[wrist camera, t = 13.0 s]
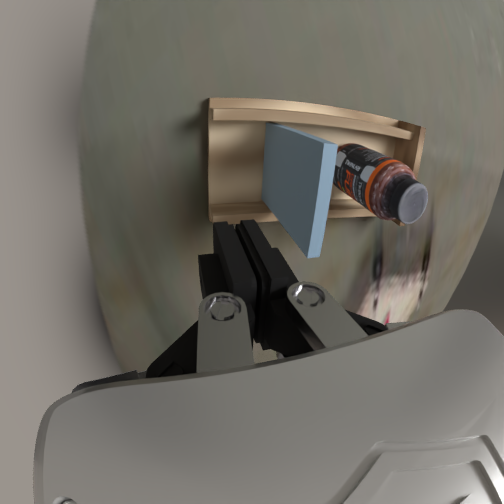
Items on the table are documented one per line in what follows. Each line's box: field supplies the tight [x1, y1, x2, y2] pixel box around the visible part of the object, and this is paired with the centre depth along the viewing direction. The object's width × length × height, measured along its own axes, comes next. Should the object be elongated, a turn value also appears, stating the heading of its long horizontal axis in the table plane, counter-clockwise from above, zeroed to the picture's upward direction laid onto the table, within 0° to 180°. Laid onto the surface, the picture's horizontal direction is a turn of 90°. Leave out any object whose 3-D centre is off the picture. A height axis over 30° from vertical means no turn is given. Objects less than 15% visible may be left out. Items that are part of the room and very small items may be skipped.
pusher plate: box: [261, 122, 338, 258], centre depth 23 cm, size 8×1×12 cm, turn 177°
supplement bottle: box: [333, 143, 428, 224], centre depth 25 cm, size 6×6×11 cm
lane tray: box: [208, 98, 426, 226], centre depth 28 cm, size 13×24×5 cm, turn 87°
